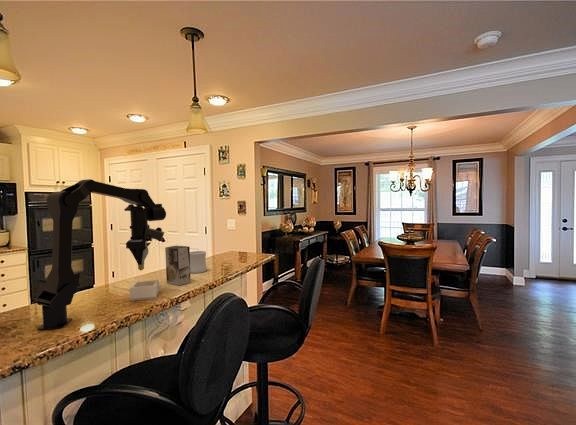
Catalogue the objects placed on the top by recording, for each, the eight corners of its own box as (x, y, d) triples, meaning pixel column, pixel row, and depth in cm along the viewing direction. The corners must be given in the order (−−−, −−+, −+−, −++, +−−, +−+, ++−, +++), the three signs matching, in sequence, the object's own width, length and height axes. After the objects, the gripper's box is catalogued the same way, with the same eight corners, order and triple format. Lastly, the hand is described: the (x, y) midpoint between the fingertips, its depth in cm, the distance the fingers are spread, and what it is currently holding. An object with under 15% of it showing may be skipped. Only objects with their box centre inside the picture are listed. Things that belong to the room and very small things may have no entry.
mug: (202, 268, 160) (201, 250, 160) (209, 271, 153) (209, 252, 153) (179, 272, 152) (178, 253, 152) (185, 275, 145) (185, 255, 145)
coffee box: (191, 282, 134) (190, 246, 133) (179, 286, 128) (178, 248, 128) (178, 279, 139) (177, 244, 138) (165, 283, 133) (164, 246, 132)
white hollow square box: (156, 298, 112) (155, 285, 112) (130, 301, 110) (129, 288, 109) (159, 291, 120) (158, 279, 120) (135, 293, 118) (134, 281, 118)
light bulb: (142, 271, 111) (141, 244, 111) (129, 271, 112) (128, 245, 112) (152, 268, 117) (151, 243, 116) (139, 268, 118) (138, 243, 117)
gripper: (159, 223, 107) (161, 266, 108) (164, 219, 125) (166, 257, 126) (124, 224, 104) (126, 269, 105) (135, 221, 122) (136, 259, 122)
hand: (141, 263), depth 114 cm, fingers closed on light bulb, 5 cm apart
